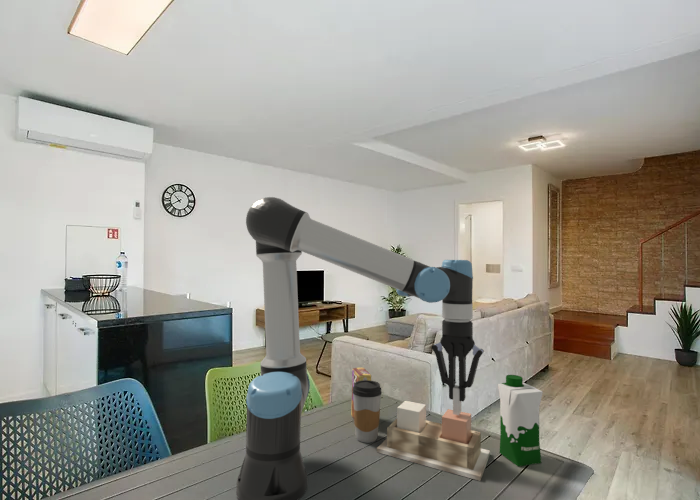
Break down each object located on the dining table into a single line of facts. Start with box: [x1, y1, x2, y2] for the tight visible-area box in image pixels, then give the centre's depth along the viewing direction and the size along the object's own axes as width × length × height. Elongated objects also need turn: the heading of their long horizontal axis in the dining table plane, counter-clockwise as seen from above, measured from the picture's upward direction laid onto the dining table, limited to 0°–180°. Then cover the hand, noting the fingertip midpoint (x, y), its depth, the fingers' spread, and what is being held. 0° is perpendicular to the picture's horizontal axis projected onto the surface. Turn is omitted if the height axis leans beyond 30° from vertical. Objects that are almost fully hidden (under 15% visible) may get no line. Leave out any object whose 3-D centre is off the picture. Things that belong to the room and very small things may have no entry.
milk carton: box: [497, 374, 544, 467], centre depth 98 cm, size 9×9×20 cm
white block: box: [396, 400, 427, 433], centre depth 102 cm, size 6×6×7 cm
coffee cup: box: [351, 380, 383, 444], centre depth 108 cm, size 8×8×15 cm
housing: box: [376, 418, 491, 482], centre depth 99 cm, size 26×14×6 cm, turn 61°
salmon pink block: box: [441, 408, 472, 444], centre depth 96 cm, size 6×6×7 cm
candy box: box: [350, 367, 372, 420], centre depth 120 cm, size 9×4×15 cm, turn 13°
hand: (457, 412), depth 96 cm, fingers closed
